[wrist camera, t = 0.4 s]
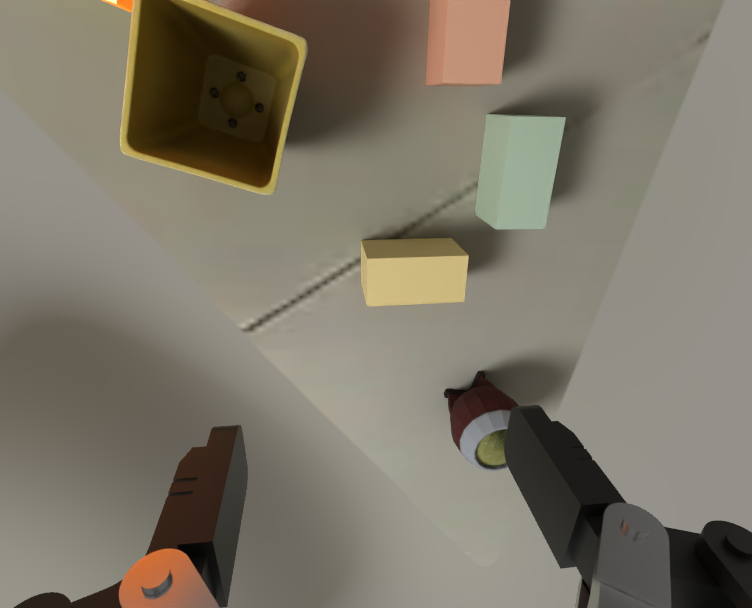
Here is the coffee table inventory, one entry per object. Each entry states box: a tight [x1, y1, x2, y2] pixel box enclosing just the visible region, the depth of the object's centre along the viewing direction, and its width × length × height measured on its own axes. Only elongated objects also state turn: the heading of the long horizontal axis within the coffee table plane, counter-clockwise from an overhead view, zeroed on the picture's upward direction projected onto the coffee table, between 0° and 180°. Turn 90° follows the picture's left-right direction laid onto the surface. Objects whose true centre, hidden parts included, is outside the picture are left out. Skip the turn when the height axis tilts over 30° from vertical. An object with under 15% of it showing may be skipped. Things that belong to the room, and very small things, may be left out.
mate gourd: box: [444, 371, 518, 471], centre depth 40 cm, size 8×8×15 cm
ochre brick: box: [361, 238, 469, 306], centre depth 37 cm, size 8×4×5 cm, turn 89°
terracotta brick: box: [426, 0, 510, 86], centre depth 30 cm, size 8×4×5 cm, turn 179°
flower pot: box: [120, 0, 308, 195], centre depth 28 cm, size 9×9×9 cm
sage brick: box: [475, 114, 566, 229], centre depth 34 cm, size 8×4×5 cm, turn 178°
